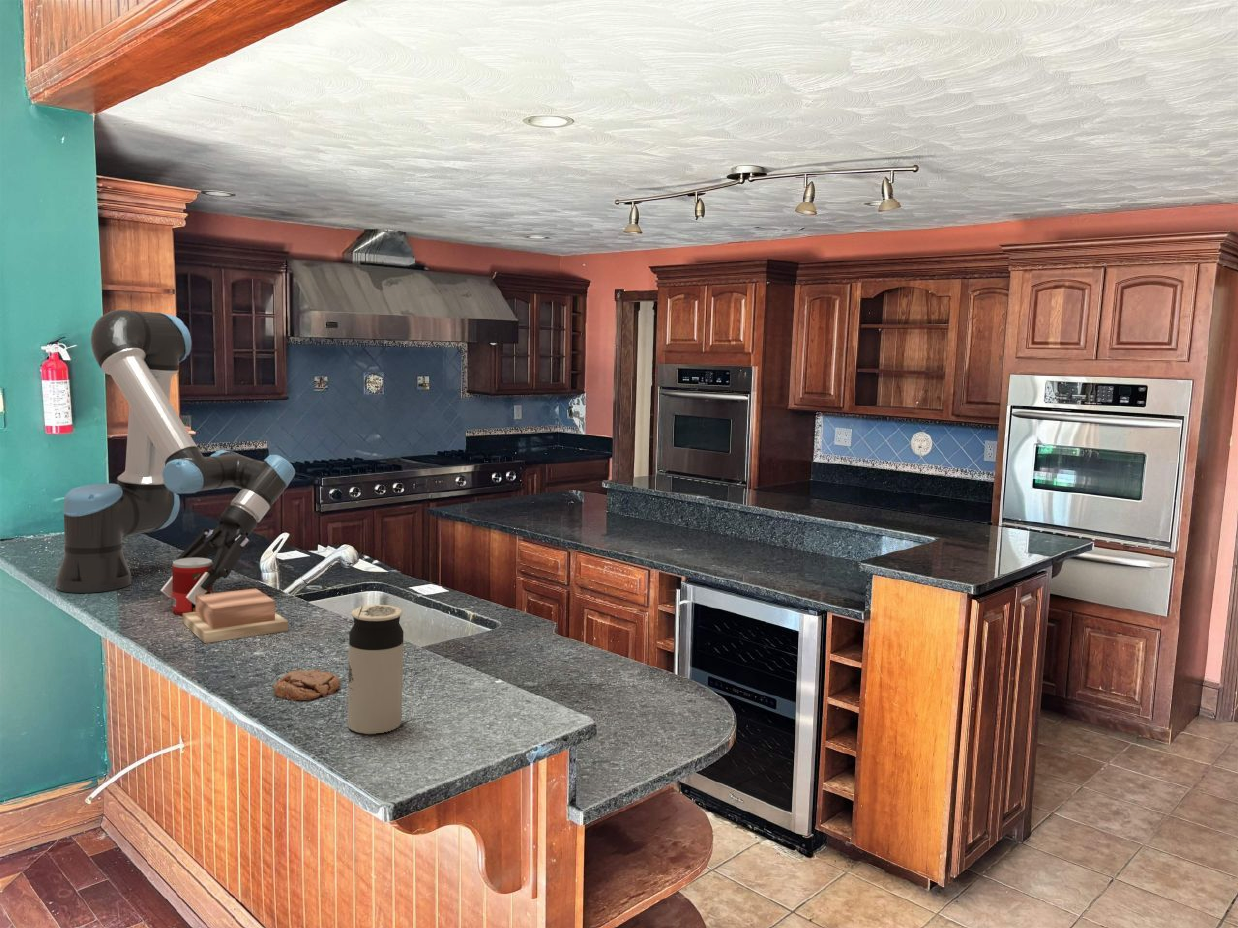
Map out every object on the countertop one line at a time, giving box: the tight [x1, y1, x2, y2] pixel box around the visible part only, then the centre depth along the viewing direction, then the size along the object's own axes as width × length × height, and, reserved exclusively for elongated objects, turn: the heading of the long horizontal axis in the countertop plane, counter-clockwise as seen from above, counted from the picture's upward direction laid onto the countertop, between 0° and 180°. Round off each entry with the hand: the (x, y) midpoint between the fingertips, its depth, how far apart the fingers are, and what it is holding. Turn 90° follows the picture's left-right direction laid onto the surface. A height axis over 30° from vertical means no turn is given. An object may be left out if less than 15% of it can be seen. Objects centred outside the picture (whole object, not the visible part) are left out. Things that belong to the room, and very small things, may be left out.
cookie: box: [273, 669, 341, 701], centre depth 150 cm, size 10×11×3 cm
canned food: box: [171, 557, 213, 616], centre depth 192 cm, size 8×8×11 cm
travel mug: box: [347, 604, 405, 735], centre depth 136 cm, size 8×8×18 cm
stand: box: [182, 587, 289, 644], centre depth 183 cm, size 16×16×6 cm
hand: (178, 597), depth 189 cm, fingers closed on canned food, 8 cm apart
